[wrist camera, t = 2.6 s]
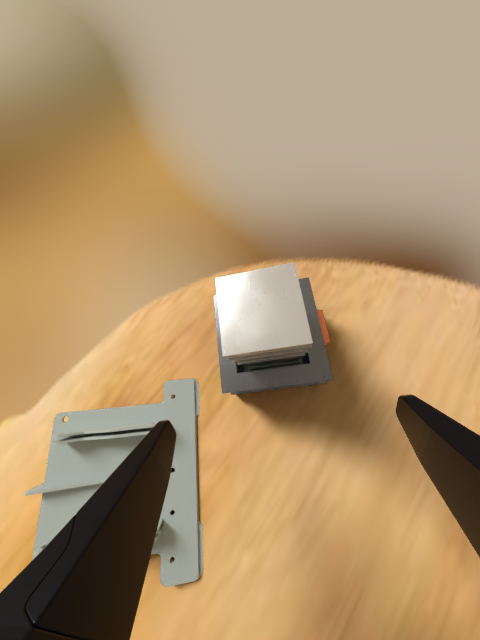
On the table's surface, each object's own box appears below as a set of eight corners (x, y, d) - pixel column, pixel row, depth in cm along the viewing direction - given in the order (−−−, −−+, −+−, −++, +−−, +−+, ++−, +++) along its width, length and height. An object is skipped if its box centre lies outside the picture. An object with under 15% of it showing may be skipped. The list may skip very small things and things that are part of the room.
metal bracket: (-18, 646, 13) (32, 391, 17) (53, 568, 18) (77, 390, 23) (215, 597, 15) (206, 376, 19) (216, 539, 20) (209, 378, 25)
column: (299, 363, 17) (317, 346, 9) (248, 370, 18) (219, 360, 9) (289, 314, 19) (297, 259, 10) (242, 322, 19) (212, 276, 11)
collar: (325, 383, 18) (343, 383, 13) (234, 393, 20) (218, 398, 14) (306, 299, 21) (314, 272, 16) (226, 313, 22) (209, 292, 17)
